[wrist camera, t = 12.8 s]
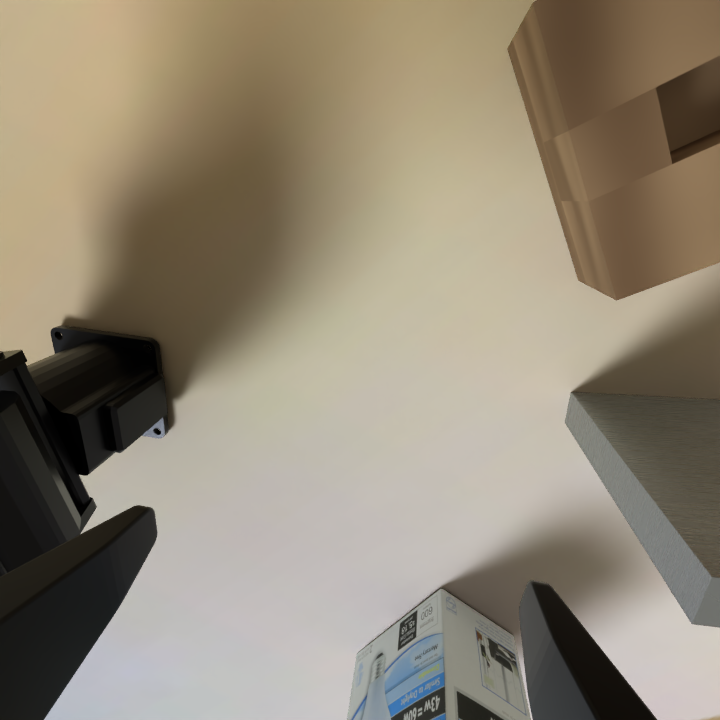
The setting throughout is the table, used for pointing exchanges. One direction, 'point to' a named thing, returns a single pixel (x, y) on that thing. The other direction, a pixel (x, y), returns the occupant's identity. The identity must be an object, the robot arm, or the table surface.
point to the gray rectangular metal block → (662, 483)
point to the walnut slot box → (627, 133)
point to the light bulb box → (439, 668)
